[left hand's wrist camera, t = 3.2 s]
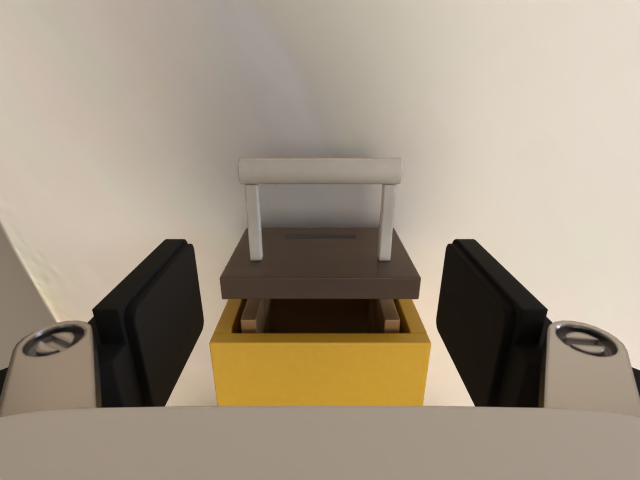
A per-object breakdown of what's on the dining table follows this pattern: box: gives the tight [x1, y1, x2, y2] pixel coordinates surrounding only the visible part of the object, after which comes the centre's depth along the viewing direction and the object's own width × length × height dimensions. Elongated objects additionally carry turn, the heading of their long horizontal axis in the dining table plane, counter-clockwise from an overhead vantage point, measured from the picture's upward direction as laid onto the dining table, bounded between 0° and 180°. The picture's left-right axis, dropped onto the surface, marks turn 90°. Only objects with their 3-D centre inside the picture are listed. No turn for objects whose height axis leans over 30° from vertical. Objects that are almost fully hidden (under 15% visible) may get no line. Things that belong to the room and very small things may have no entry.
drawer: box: [220, 158, 421, 333], centre depth 23 cm, size 22×10×7 cm, turn 0°
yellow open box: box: [209, 299, 431, 406], centre depth 26 cm, size 18×11×9 cm, turn 0°
